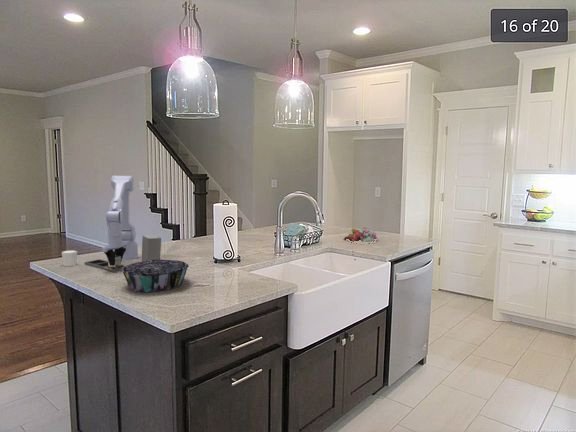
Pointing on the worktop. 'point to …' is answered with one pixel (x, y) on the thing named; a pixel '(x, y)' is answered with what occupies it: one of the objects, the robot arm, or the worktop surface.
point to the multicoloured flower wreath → (361, 235)
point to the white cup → (69, 258)
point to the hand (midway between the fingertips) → (115, 264)
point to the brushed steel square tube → (116, 263)
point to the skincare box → (151, 247)
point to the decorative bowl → (155, 275)
